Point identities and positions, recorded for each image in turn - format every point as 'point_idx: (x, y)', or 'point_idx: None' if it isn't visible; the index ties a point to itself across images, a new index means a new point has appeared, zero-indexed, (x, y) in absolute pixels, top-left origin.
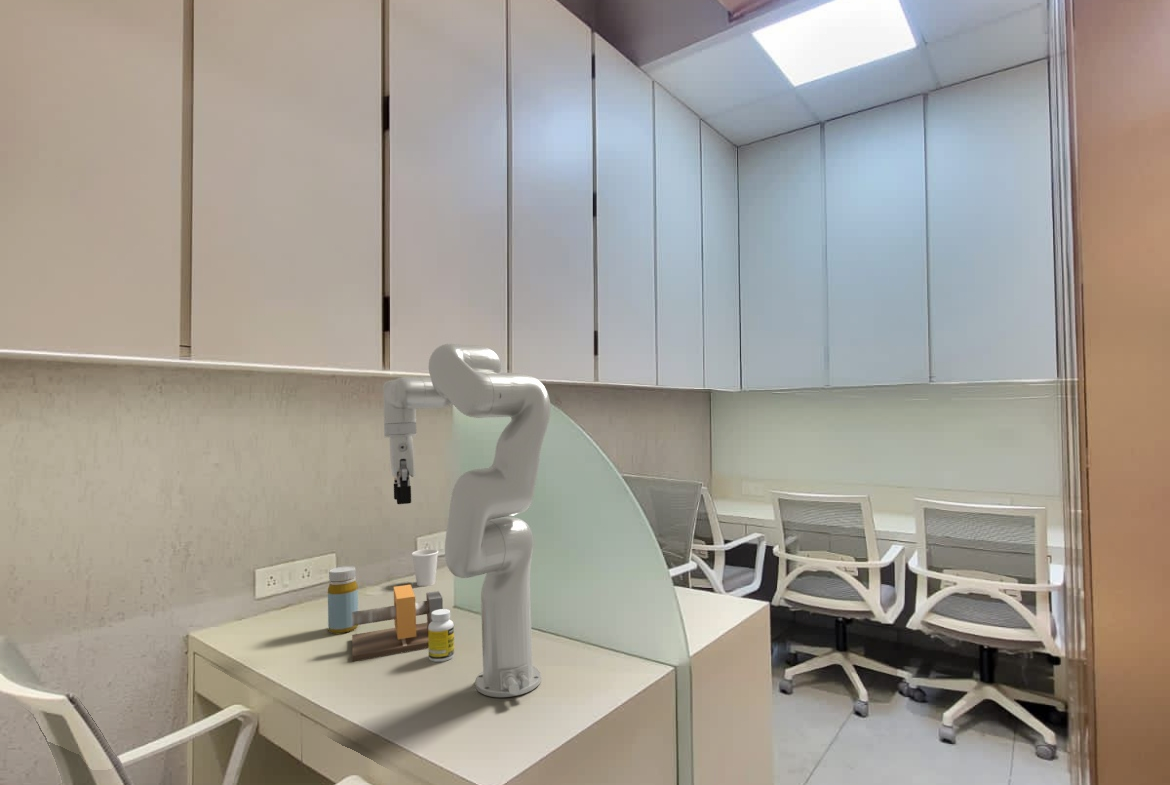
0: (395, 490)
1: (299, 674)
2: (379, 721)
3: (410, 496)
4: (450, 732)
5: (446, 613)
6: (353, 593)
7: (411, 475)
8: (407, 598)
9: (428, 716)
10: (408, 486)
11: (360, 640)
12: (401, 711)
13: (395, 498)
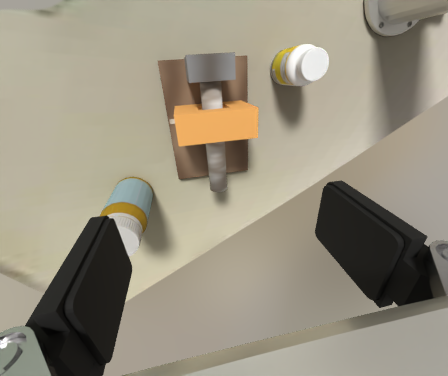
0: (119, 311)
1: (253, 206)
2: (377, 132)
3: (362, 198)
4: (433, 75)
5: (327, 55)
6: (137, 203)
7: (174, 362)
8: (257, 120)
9: (398, 92)
10: (436, 248)
11: (203, 167)
12: (375, 115)
13: (130, 268)
